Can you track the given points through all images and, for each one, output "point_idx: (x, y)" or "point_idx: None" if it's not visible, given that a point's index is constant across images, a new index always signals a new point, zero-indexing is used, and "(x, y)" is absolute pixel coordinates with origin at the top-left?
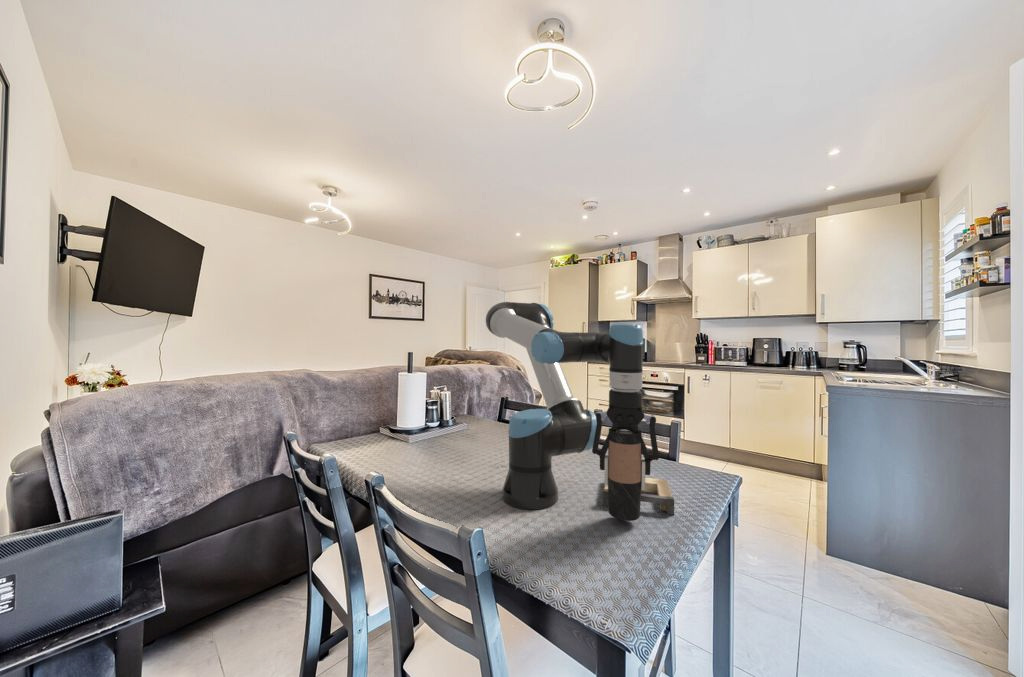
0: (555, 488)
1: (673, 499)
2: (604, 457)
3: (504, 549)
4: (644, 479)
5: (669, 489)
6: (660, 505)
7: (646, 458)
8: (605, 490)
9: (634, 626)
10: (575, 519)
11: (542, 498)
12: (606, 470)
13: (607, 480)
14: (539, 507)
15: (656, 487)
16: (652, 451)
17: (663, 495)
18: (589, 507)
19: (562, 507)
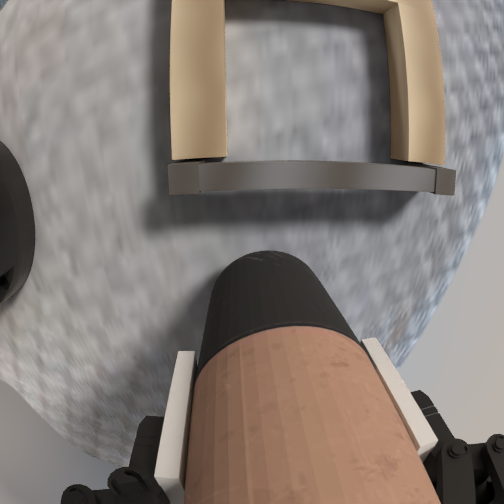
0: (4, 231)
1: (452, 194)
2: (166, 499)
3: (66, 431)
4: None
5: (439, 52)
6: (397, 156)
7: None
8: (177, 184)
9: None
10: (118, 315)
11: (7, 293)
12: None
13: None
14: (18, 289)
15: (389, 6)
16: (489, 472)
17: (421, 111)
18: (134, 218)
19: (60, 250)
